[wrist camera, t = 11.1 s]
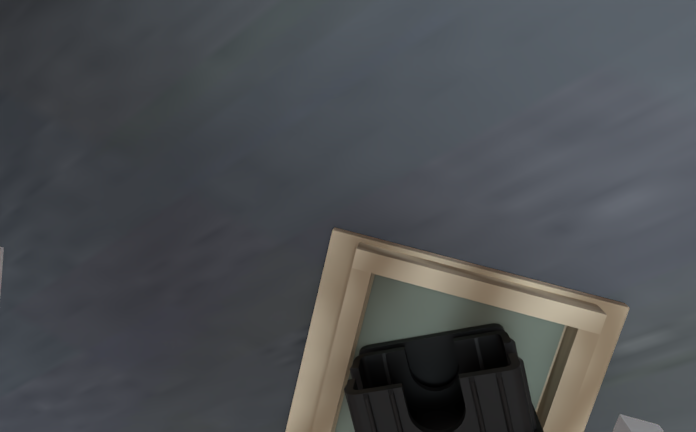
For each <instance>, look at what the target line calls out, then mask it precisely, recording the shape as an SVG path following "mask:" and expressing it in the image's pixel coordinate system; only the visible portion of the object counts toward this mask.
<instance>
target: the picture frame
mask: <svg viewBox="0 0 696 432" xmlns="http://www.w3.org/2000/svg"><path fill="white" fill-rule="evenodd" d="M628 311H629V307H628V306H627V305H626V304H625V303H622V302H618V301H614V300H611V299H607V298H603V297H599V296H595V295H591V294H588V293H584V292H580V291H576V290H572V289H568V288H565V287H561V286H557V285H553V284H549V283H546V282H542V281H538V280H534V279H530V278H526V277H523V276H519V275H515V274H511V273H507V272H503V271H500V270H496V269H492V268H488V267H484V266H481V265H477V264H473V263H469V262H465V261H461V260H458V259H454V258H450V257H446V256H442V255H439V254H435V253H431V252H427V251H423V250H419V249H416V248H412V247H408V246H404V245H400V244H396V243H393V242H389V241H385V240H381V239H377V238H374V237H370V236H366V235H362V234H358V233H354V232H351V231H347V230H343V229H339V228H334V229H333V230H332V234H331V239H330V243H329V247H328V251H327V256H326V260H325V264H324V269H323V273H322V277H321V281H320V286H319V290H318V294H317V299H316V303H315V307H314V311H313V316H312V320H311V324H310V329H309V333H308V337H307V341H306V346H305V350H304V354H303V358H302V363H301V367H300V371H299V376H298V380H297V384H296V388H295V393H294V397H293V401H292V406H291V410H290V414H289V418H288V423H287V427H286V431H285V432H355V430H354V426H353V423H352V419H351V415H350V411H349V407H348V403H347V400H346V396H345V392H344V388H345V386H346V385H347V382H348V380H349V379H352V377H351V373H350V367H351V366H352V364H353V361H354V359H355V358H356V357H357V356H359V352H360V350H361V348H362V347H364V346H366V345H371V344H377V343H383V342H388V341H394V340H400V339H406V338H412V337H417V336H423V335H429V334H435V333H441V332H446V331H452V330H458V329H464V328H469V327H475V326H481V325H487V324H493V323H495V324H500V325H501V326H503V328H504V330H505V332H507V333H508V335H509V337H510V338H511V339H512V340H514V341H515V344H516V348H517V353H518V357H520V358H521V359H522V360H523V362H524V367H525V371H526V376H527V381H528V386H529V391H530V396H531V401H532V404H533V406H534V409H535V411H536V414H537V416H538V419H539V421H540V424H541V426H542V429H543V431H544V432H584V429H585V427H586V424H587V421H588V419H589V416H590V413H591V411H592V408H593V405H594V402H595V400H596V397H597V394H598V392H599V389H600V386H601V384H602V381H603V378H604V376H605V373H606V370H607V368H608V365H609V362H610V359H611V357H612V354H613V351H614V349H615V346H616V343H617V341H618V338H619V335H620V333H621V330H622V327H623V324H624V322H625V319H626V316H627V314H628Z"/></svg>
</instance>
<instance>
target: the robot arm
mask: <svg viewBox="0 0 696 432" xmlns="http://www.w3.org/2000/svg"><path fill="white" fill-rule="evenodd" d="M3 249H4V248H2V247H0V294H1V279H2V264H3ZM613 432H664V431H663V429H662V428H661V427H660V426H659V425H658V424H654V423H650V422H647V421H643V420H639V419H636V418H632V417H628V416H625V415H621V414H620V415H619V417H618V420H617V422H616V424H615V427H614V429H613Z"/></svg>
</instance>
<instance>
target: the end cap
mask: <svg viewBox="0 0 696 432" xmlns="http://www.w3.org/2000/svg"><path fill="white" fill-rule="evenodd" d="M350 373H351V377H352V379H349V380H348V382H347V385H346V386H345V388H344V392H345V396H346V400H347V403H348V407H349V411H350V415H351V419H352V423H353V426H354V430H355V432H544V431H543V429H542V426H541V424H540V421H539V419H538V416H537V414H536V411H535V409H534V406H533V404H532V401H531V396H530V391H529V386H528V381H527V376H526V371H525V367H524V362H523V360H522V359H521V358H520V357H518V353H517V348H516V344H515V341H514V340H512V339H511V338H510V337H509V335H508V333H507V332H505V330H504V328H503V326H501V325H500V324H495V323H493V324H487V325H481V326H475V327H469V328H464V329H458V330H452V331H446V332H441V333H435V334H429V335H423V336H417V337H412V338H406V339H400V340H394V341H388V342H383V343H377V344H371V345H366V346H364V347H362V348H361V350H360V352H359V356H357V357H356V358H355V359H354V361H353V364H352V366H351V367H350Z"/></svg>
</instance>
